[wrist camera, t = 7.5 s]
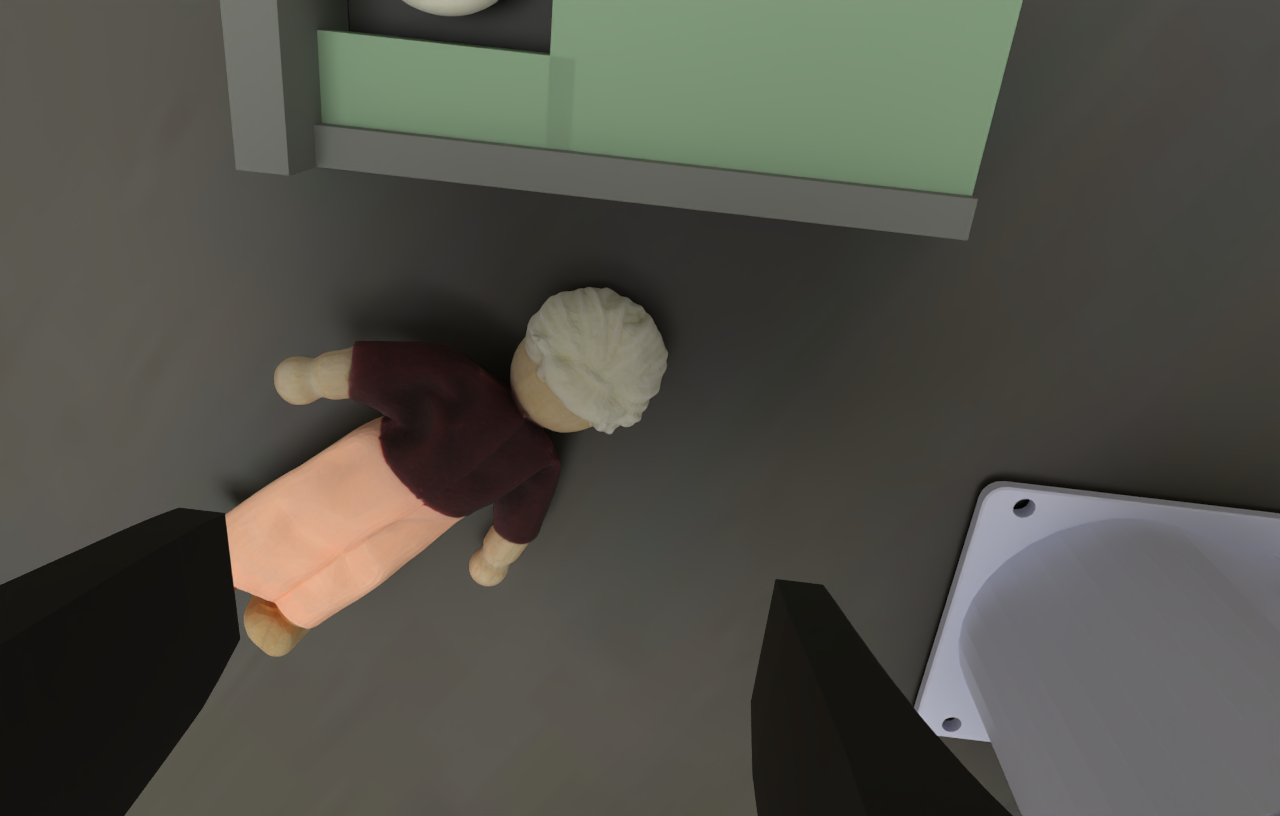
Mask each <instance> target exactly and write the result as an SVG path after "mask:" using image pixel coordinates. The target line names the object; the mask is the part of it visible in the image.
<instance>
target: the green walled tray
mask: <svg viewBox="0 0 1280 816" xmlns="http://www.w3.org/2000/svg"><path fill="white" fill-rule="evenodd" d="M1022 1H1023V0H553V7H552V26H551V46H550V53H544V52H535V51H526V50H517V49H508V48H499V47H490V46H481V45H472V44H463V43H454V42H444V41H435V40H426V39H417V38H408V37H399V36H390V35H381V34H372V33H363V32H354V31H349V22H348V0H220V7H221V17H222V27H223V38H224V48H225V59H226V69H227V80H228V90H229V101H230V111H231V122H232V132H233V142H234V153H235V163H236V170H244V171H253V172H262V173H270V174H279V175H288V176H289V175H292V174H295V173H299V172H302V171H305V170H308V169H311V168H314V167H322V168H331V169H340V170H349V171H358V172H367V173H376V174H384V175H393V176H402V177H411V178H420V179H429V180H437V181H446V182H455V183H464V184H473V185H482V186H490V187H499V188H508V189H517V190H526V191H535V192H543V193H552V194H561V195H570V196H579V197H588V198H596V199H605V200H614V201H623V202H632V203H641V204H650V205H658V206H667V207H676V208H685V209H694V210H703V211H711V212H720V213H729V214H738V215H747V216H756V217H764V218H773V219H782V220H791V221H800V222H809V223H817V224H826V225H835V226H844V227H853V228H862V229H870V230H879V231H888V232H897V233H906V234H915V235H923V236H932V237H941V238H950V239H959V240H968V237H969V233H970V229H971V225H972V221H973V218H974V214H975V210H976V206H977V202H978V199H977V198H975V197H973V196H972V194H973V190H974V186H975V182H976V179H977V175H978V171H979V167H980V163H981V159H982V155H983V152H984V148H985V144H986V140H987V136H988V132H989V128H990V125H991V121H992V117H993V113H994V109H995V105H996V102H997V98H998V94H999V90H1000V86H1001V82H1002V78H1003V75H1004V71H1005V67H1006V63H1007V59H1008V55H1009V51H1010V48H1011V44H1012V40H1013V36H1014V32H1015V28H1016V24H1017V21H1018V17H1019V13H1020V9H1021V5H1022Z"/></svg>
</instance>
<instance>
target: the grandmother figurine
mask: <svg viewBox="0 0 1280 816" xmlns="http://www.w3.org/2000/svg"><path fill="white" fill-rule="evenodd" d="M667 357H668V351H667V349H666V348H665V346H664V342H663V339H662V336H661V334H660V332H659V330H658V329H657V326H656V325H655V323H654V321H653V318H652V317H651V316H650V315H649V314H648V313H646V312H645V310H644V308H643V307H642V306H641V305H638V304H636V303H634V302H632V301H631V300H630V299H629V298H627V297H621V296H620V295H619V294H617V293H616V292H614V291H613V290H611V289H609V288H602V289H600V288H593V287H587V288H579V289H577V290H574V291H564V292H559V293H558V294H556V295H554V296H550V297H549V298H548V299H547V301H546V302H545V303H544V304H543V305H542V307H541V309H540V310H539V311H538V312H537V313H536V314H534V315H533V316H532V317H531V318H530V320H529V323H528V325H527V332H526V337H525V338H524V339H523V340H522V342H521V343H520V344H519V346H518V348H517V350H516V352H515V354H514V357H513V360H512V364H511V373H510V383H506V382H504V381H501V380H500V379H498V378H496V377H494V376H493V375H491V374H489V373H488V372H486V371H484V370H483V369H482V368H481V367H480V366H478V365H477V364H476V363H475V362H474V361H473V360H472V359H471V358H470V357H468V356H467V355H465V354H463V353H461V352H459V351H456V350H453V349H450V348H448V347H445V346H440V345H435V344H428V343H419V342H387V341H357V342H355V344H354V345H353V346H352V347H350V348H347V349H342V350H335V351H330V352H325V353H323V354H321V355H320V356H318V357H316V358H310V357H306V356H295V357H290V358H287V359H285V360H284V361H282V362H281V363H280V364H279V366H278V367H277V368H276V370H275V374H274V384H275V388H276V390H277V392H278V393H279V394H280V396H281V397H282V398H283V399H284V400H286V401H287V402H289V403H291V404H297V405H303V404H309V403H311V402H313V401H315V400H317V399H319V398H321V397H325V398H329V399H336V400H337V399H347V398H350V399H353V400H355V401H356V402H359V403H361V404H364V405H366V406H369V407H371V408H374V409H376V410H378V411H380V412H381V413H382V414H383V415H384V416H382V417H379V418H376V419H374V420H372V421H370V422H368V423H366V424H364V425H362V426H360V427H359V428H357V429H355V430H353V431H352V432H350V433H349V434H347V435H346V436H344V437H343V438H341V439H340V440H338V441H337V442H335V443H334V444H332V445H331V446H329V447H328V448H326V449H325V450H323V451H322V452H320V453H319V454H317V455H316V456H314V457H313V458H311V459H310V460H308V461H306V462H305V463H303V464H302V465H300V466H298V467H297V468H295V469H293V470H291V471H289V472H288V473H286V474H284V475H283V476H281V477H279V478H278V479H276V480H275V481H273V482H272V483H270V484H268V485H267V486H265V487H264V488H262V489H261V490H259V491H258V492H256V493H255V494H253V495H252V496H251V497H249V498H248V499H246V500H245V501H243V502H242V503H241V504H239V505H238V506H236V507H235V508H234V509H232V510H231V511H230V512H228V513H227V514H226V515H225V518H226V526H227V534H228V542H229V551H230V559H231V567H232V575H233V584H234V592H235V590H236V588H238V589H241V590H243V591H246V592H249V593H251V594H252V597H251V599H250V602H249V604H248V606H247V608H246V611H245V614H244V625H245V628H246V631H247V634H248V636H249V637H250V639H251V640H252V641H253V642H254V643H255V644H256V645H257V646H258V647H259V648H260V649H262V650H263V651H264V652H265V653H266V654H268V655H270V656H283V655H285V654H287V653H288V652H289V651H290V650H291V649H293V647H294V646H295V645H296V644H297V643H298V642H299V641H300V640H301V639H302V637H303V636H304V635H305V634H306V633H307V632H308V631H309V630H310V629H311V628H312V627H316V626H317V625H319V624H320V623H321V622H323V621H324V620H326V619H327V618H329V617H330V616H332V615H333V614H335V613H337V612H338V611H340V610H341V609H343V608H345V607H346V606H348V605H350V604H351V603H353V602H355V601H357V600H358V599H360V598H361V597H363V596H364V595H366V594H367V593H369V592H370V591H372V590H373V589H375V588H376V587H378V586H379V585H380V584H381V583H383V582H384V581H385V580H387V579H388V578H389V577H390V576H391V575H392V574H394V573H395V572H396V571H397V570H398V569H400V568H401V567H402V566H403V565H404V564H406V563H407V562H408V561H409V560H411V559H412V558H413V557H415V556H416V555H417V554H419V553H420V552H421V551H423V550H424V549H425V548H426V547H427V546H429V545H430V544H431V543H432V542H433V541H434V540H436V539H437V538H438V537H439V536H440V535H442V534H443V533H444V532H445V531H447V530H448V529H449V528H450V527H451V526H452V525H454V524H455V523H456V522H457V521H459V520H461V519H462V518H464V517H465V516H468V515H470V514H472V513H473V512H475V511H476V510H478V509H480V508H483V507H485V506H487V505H490V504H492V503H494V507H493V511H494V521H493V525H492V526H491V528H490V529H489V531H488V532H487V534H486V536H485V538H484V540H483V546H482V547H480V548H479V549H478V550H476V551H475V552H474V553H473V555H472V557H471V559H470V562H469V571H470V574H471V576H472V578H473V579H474V580H475V581H476V582H477V583H479V584H481V585H483V586H493V585H496V584H498V583H500V582H501V581H502V580H503V579H504V578H505V576H506V574H507V572H508V570H509V564H510V563H512V562H514V561H515V560H516V559H517V558H518V557H519V556H520V555H521V553H522V552H523V550H524V549H525V548H526V546H527V545H528V543H529V542H531V541H532V540H534V539H535V538H536V537H537V535H538V533H539V531H540V528H541V525H542V523H543V520H544V518H545V515H546V513H547V511H548V508H549V506H550V503H551V500H552V498H553V495H554V492H555V489H556V486H557V482H558V478H559V473H560V469H561V462H560V458H559V455H558V453H557V451H556V449H555V446H554V445H553V443H552V441H551V439H550V437H549V436H548V434H547V432H546V431H545V430H544V428H547V429H550V430H552V431H556V432H575V431H580V430H584V429H587V428H590V427H592V426H593V427H594V428H595V429H596V430H597V431H600V432H601V431H603V432H605V433H607V434H612V433H613V431H614V430H615V429H616V428H617V427H618V426H620V425H621V426H623V427H630V426H632V425H633V424H635V423H636V422H639V421H640V420H641V417H642V412H643V411H645V409H646V408H647V407H648V404H649V399H650V398H652V397H653V396H655V395H656V394H657V393H658V392H659V389H660V384H661V379H662V376H663V374H664V372H665V371H666V369H667V362H666V360H667Z"/></svg>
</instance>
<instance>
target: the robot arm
mask: <svg viewBox="0 0 1280 816" xmlns="http://www.w3.org/2000/svg"><path fill="white" fill-rule="evenodd" d="M1021 499H1029V503H1028V504H1027V506H1025V507H1023V508H1022V509H1013V507H1014V505H1015V504H1016V502H1018V501H1020V500H1021ZM239 640H240V633H239V625H238V617H237V609H236V600H235V592H234V584H233V575H232V567H231V559H230V551H229V542H228V534H227V526H226V518H225V513H219V512H211V511H202V510H194V509H186V508H177V509H174V510H171V511H169V512H166V513H163V514H160V515H158V516H155V517H153V518H150V519H148V520H145V521H143V522H141V523H138V524H136V525H134V526H131V527H129V528H127V529H124V530H122V531H120V532H118V533H115V534H113V535H111V536H109V537H106V538H104V539H102V540H100V541H97V542H95V543H93V544H91V545H89V546H86V547H84V548H82V549H80V550H78V551H75V552H73V553H71V554H69V555H66V556H64V557H62V558H60V559H58V560H55V561H53V562H51V563H49V564H46V565H44V566H42V567H40V568H37V569H35V570H33V571H31V572H29V573H26V574H24V575H22V576H20V577H17V578H15V579H13V580H11V581H8V582H6V583H4V584H2V585H0V816H124V815H125V814H126V813H127V811H128V810H129V808H130V807H131V806H132V804H133V803H134V802H135V800H136V799H137V798H138V796H139V795H140V794H141V792H142V791H143V790H144V788H145V787H146V785H147V784H148V783H149V781H150V780H151V779H152V777H153V776H154V775H155V773H156V772H157V771H158V769H159V768H160V766H161V765H162V764H163V762H164V761H165V760H166V758H167V757H168V755H169V754H170V753H171V751H172V750H173V749H174V747H175V746H176V744H177V743H178V742H179V740H180V739H181V737H182V736H183V735H184V733H185V732H186V731H187V729H188V728H189V726H190V725H191V724H192V722H193V721H194V719H195V718H196V716H197V715H198V714H199V712H200V711H201V709H202V708H203V706H204V704H205V703H206V701H207V699H208V697H209V696H210V694H211V692H212V690H213V689H214V687H215V685H216V683H217V682H218V680H219V678H220V676H221V674H222V673H223V671H224V669H225V667H226V665H227V663H228V661H229V659H230V657H231V655H232V653H233V652H234V650H235V648H236V646H237V644H238V642H239ZM951 717H955V719H953V720H951V721H944V720H945V719H947V718H951ZM751 732H752V772H753V783H754V790H755V798H756V806H757V813H758V816H1012V815H1011V814H1010V813H1009V812H1008V811H1007V810H1006V809H1005V808H1004V807H1003V806H1002V805H1001V804H1000V803H999V802H998V801H997V800H996V799H995V798H994V797H993V796H992V795H991V794H990V793H989V792H988V791H987V790H986V789H985V788H984V787H983V786H982V785H981V784H980V783H979V782H978V781H977V779H976V778H975V777H974V776H973V775H972V774H971V773H970V772H969V771H968V770H967V769H966V768H965V767H964V766H963V764H962V763H961V762H960V761H959V760H958V759H957V758H956V757H955V755H954V754H953V753H952V752H951V751H950V750H949V749H948V747H947V746H946V745H945V744H944V743H943V742H942V741H941V739H940V738H939V737H938V736H945V737H953V738H962V739H970V740H978V741H986V742H991V744H992V746H993V748H994V751H995V753H996V755H997V758H998V760H999V762H1000V765H1001V767H1002V770H1003V772H1004V774H1005V777H1006V779H1007V781H1008V784H1009V786H1010V789H1011V791H1012V793H1013V796H1014V798H1015V800H1016V803H1017V805H1018V808H1019V810H1020V812H1021V815H1022V816H1280V513H1272V512H1264V511H1255V510H1247V509H1238V508H1230V507H1221V506H1213V505H1204V504H1196V503H1187V502H1179V501H1170V500H1161V499H1153V498H1144V497H1136V496H1127V495H1119V494H1110V493H1102V492H1093V491H1085V490H1076V489H1068V488H1059V487H1051V486H1042V485H1034V484H1025V483H1017V482H1008V481H997V482H994V483H991V484H989V485H988V486H986V487H985V488H984V489H983V490H982V491H981V493H980V495H979V497H978V501H977V504H976V507H975V510H974V514H973V517H972V520H971V523H970V527H969V530H968V533H967V536H966V540H965V543H964V546H963V549H962V553H961V556H960V559H959V562H958V566H957V569H956V572H955V575H954V579H953V582H952V585H951V588H950V592H949V595H948V598H947V601H946V605H945V608H944V611H943V614H942V618H941V621H940V624H939V627H938V631H937V634H936V637H935V640H934V644H933V647H932V650H931V653H930V657H929V660H928V663H927V666H926V670H925V673H924V676H923V679H922V683H921V686H920V689H919V692H918V696H917V699H916V702H915V705H914V707H913V706H912V705H911V703H910V702H909V701H908V700H907V698H906V697H905V696H904V695H903V693H902V692H901V691H900V689H899V688H898V687H897V686H896V684H895V683H894V682H893V680H892V679H891V678H890V677H889V675H888V674H887V673H886V671H885V670H884V669H883V667H882V666H881V665H880V663H879V662H878V661H877V659H876V658H875V657H874V655H873V654H872V652H871V651H870V650H869V648H868V647H867V646H866V644H865V643H864V641H863V640H862V639H861V637H860V636H859V634H858V633H857V632H856V630H855V629H854V627H853V626H852V625H851V623H850V622H849V620H848V619H847V617H846V616H845V615H844V613H843V612H842V610H841V609H840V607H839V606H838V605H837V603H836V602H835V600H834V599H833V598H832V596H831V595H830V593H829V592H828V591H827V589H826V588H825V587H824V586H823V585H821V584H812V583H804V582H796V581H787V580H779V579H776V580H775V585H774V590H773V595H772V600H771V605H770V610H769V615H768V620H767V625H766V630H765V635H764V640H763V644H762V649H761V654H760V659H759V664H758V669H757V674H756V679H755V684H754V689H753V694H752V699H751Z"/></svg>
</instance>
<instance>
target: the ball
mask: <svg viewBox="0 0 1280 816" xmlns="http://www.w3.org/2000/svg"><path fill="white" fill-rule="evenodd" d="M402 1H404V2H405V3H407V4H408V5H410V6H412V7H414V8H416V9H419V10H421V11H424V12H427V13H431V14H434V15H440V16H464V15H469V14H473V13H476V12H479V11H481V10H484V9H486V8H488V7H489V6H491V5H493V4H495V3H496V2H497V1H498V0H402Z"/></svg>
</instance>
